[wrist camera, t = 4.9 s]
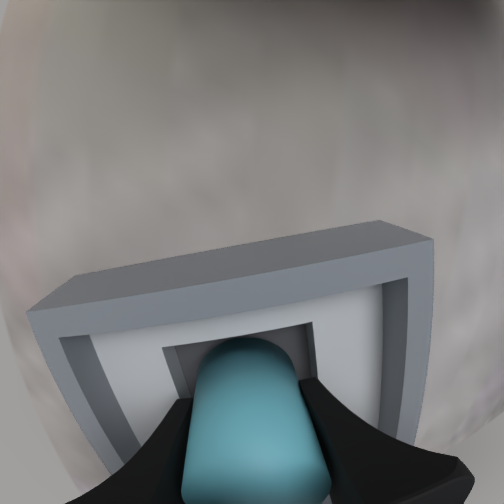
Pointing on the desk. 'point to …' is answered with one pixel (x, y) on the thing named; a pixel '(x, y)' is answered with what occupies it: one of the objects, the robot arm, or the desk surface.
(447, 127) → the desk surface
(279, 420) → the peg
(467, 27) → the desk surface
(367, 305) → the socket box
